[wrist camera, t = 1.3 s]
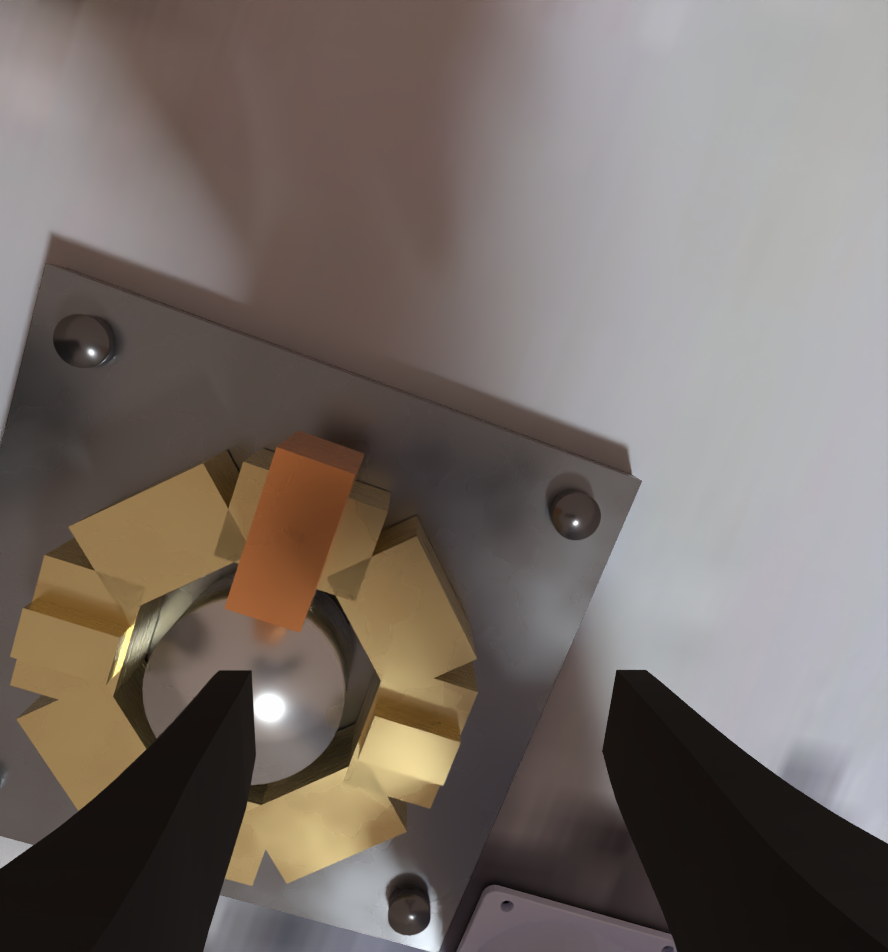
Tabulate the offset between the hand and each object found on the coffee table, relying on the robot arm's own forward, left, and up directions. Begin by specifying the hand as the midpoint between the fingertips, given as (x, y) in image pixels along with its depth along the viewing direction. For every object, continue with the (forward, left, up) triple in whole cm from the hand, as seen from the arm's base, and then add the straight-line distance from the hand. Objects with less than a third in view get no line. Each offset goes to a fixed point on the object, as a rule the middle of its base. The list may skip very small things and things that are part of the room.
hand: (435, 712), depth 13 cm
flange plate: (+4, +5, -11) cm, 12 cm away
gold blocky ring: (+4, +4, -10) cm, 11 cm away
